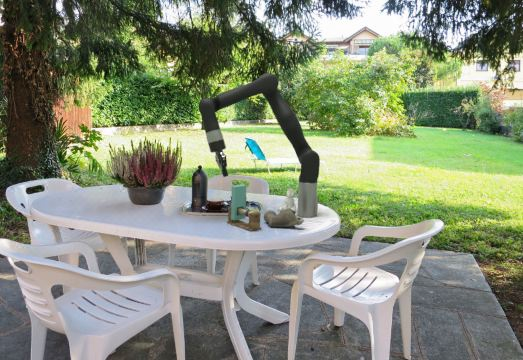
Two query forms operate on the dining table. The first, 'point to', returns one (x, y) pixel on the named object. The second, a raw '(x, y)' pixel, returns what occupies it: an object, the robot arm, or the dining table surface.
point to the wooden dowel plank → (251, 226)
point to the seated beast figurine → (289, 201)
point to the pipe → (283, 218)
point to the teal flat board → (238, 201)
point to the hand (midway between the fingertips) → (225, 176)
